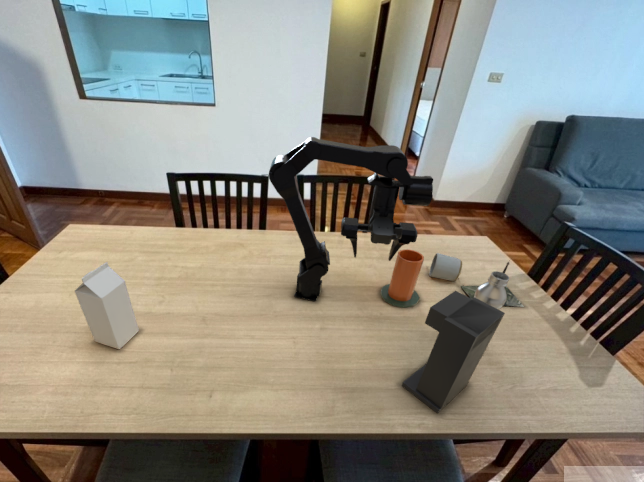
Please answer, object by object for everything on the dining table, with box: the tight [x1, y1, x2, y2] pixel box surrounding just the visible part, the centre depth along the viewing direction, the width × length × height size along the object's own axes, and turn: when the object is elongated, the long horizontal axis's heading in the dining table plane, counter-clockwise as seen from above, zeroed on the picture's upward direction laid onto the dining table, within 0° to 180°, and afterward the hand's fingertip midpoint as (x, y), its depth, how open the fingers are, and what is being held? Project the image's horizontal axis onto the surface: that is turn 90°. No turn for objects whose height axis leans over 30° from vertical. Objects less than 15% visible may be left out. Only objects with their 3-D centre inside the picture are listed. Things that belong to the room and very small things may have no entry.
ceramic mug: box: [428, 252, 463, 282], centre depth 113 cm, size 11×8×8 cm
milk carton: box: [74, 261, 140, 350], centre depth 80 cm, size 7×7×19 cm
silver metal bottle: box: [474, 270, 510, 311], centre depth 84 cm, size 6×7×20 cm
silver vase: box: [460, 259, 525, 308], centre depth 102 cm, size 15×10×13 cm
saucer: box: [380, 283, 420, 309], centre depth 104 cm, size 11×11×1 cm
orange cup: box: [388, 249, 425, 301], centre depth 100 cm, size 7×7×13 cm
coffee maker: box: [401, 290, 506, 414], centre depth 72 cm, size 10×12×21 cm
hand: (372, 258), depth 95 cm, fingers open, 9 cm apart
